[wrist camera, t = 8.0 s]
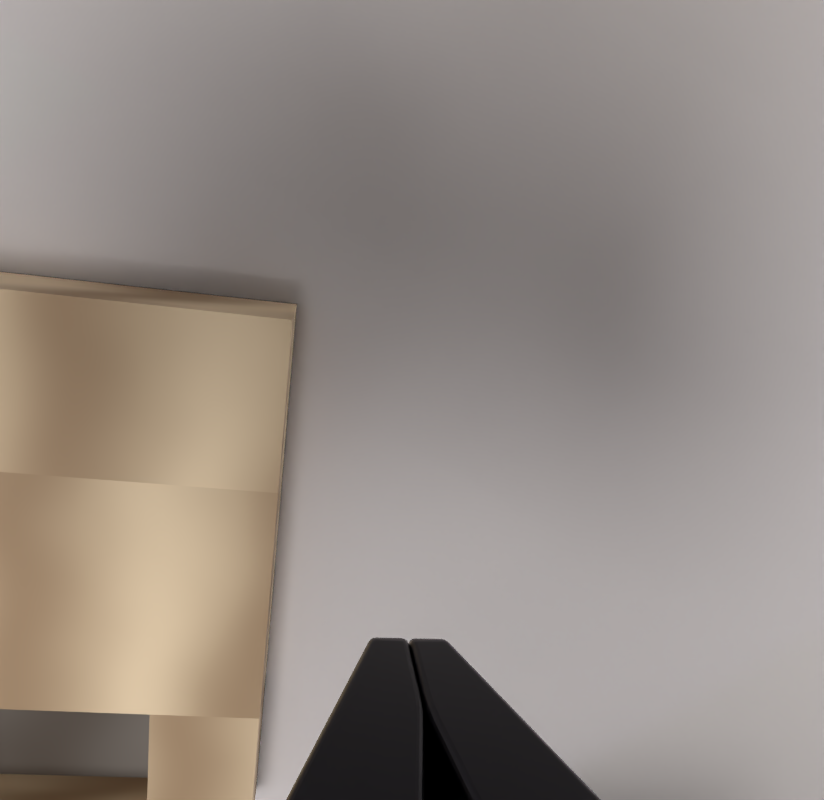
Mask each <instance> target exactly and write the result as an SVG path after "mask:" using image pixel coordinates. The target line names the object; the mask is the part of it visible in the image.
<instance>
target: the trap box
mask: <svg viewBox="0 0 824 800" xmlns="http://www.w3.org/2000/svg"><path fill="white" fill-rule="evenodd" d="M296 307H297V304H289V303H280V302H271V301H262V300H253V299H244V298H234V297H225V296H216V295H207V294H198V293H189V292H180V291H171V290H161V289H152V288H143V287H134V286H125V285H116V284H107V283H97V282H88V281H79V280H70V279H61V278H52V277H43V276H34V275H24V274H15V273H6V272H0V800H255V793H256V784H257V772H258V760H259V748H260V736H261V724H262V713H263V701H264V689H265V677H266V665H267V653H268V641H269V629H270V617H271V605H272V593H273V581H274V569H275V558H276V546H277V534H278V522H279V510H280V498H281V486H282V474H283V462H284V450H285V438H286V426H287V414H288V402H289V391H290V379H291V367H292V355H293V343H294V331H295V319H296Z"/></svg>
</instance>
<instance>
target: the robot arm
mask: <svg viewBox="0 0 824 800" xmlns="http://www.w3.org/2000/svg"><path fill="white" fill-rule="evenodd" d="M286 800H600V799H599V798H598V797H597V796H596V794H595V793H594V792H593V791H592V790H591V789H590V788H589V787H588V786H587V785H586V784H585V783H584V782H583V781H582V780H581V779H580V778H579V777H578V776H577V775H576V774H575V773H574V772H573V771H572V770H571V769H570V768H569V767H568V766H567V764H566V763H565V762H564V761H563V760H562V759H561V758H560V757H559V756H558V755H557V754H556V753H555V752H554V751H553V750H552V749H551V748H550V747H549V746H548V745H547V744H546V743H545V742H544V741H543V740H542V739H541V738H540V737H539V736H538V735H537V733H536V732H535V731H534V730H533V729H532V728H531V727H530V726H529V725H528V724H527V723H526V722H525V721H524V720H523V719H522V718H521V717H520V716H519V715H518V714H517V713H516V712H515V711H514V710H513V709H512V708H511V707H510V706H509V705H508V703H507V702H506V701H505V700H504V699H503V698H502V697H501V696H500V695H499V694H498V693H497V692H496V691H495V690H494V689H493V688H492V687H491V686H490V685H489V684H488V683H487V682H486V681H485V680H484V679H483V678H482V677H481V676H480V675H479V674H478V672H477V671H476V670H475V669H474V668H473V667H472V666H471V665H470V664H469V663H468V662H467V661H466V660H465V659H464V658H463V657H462V656H461V655H460V654H459V653H458V652H457V651H456V650H455V649H454V648H453V647H452V646H451V645H450V644H449V643H448V642H447V641H445V640H443V639H412V640H411V641H410V642H409V644H408V642H407V641H406V640H405V639H402V638H373V639H371V640H370V641H369V643H368V644H367V646H366V648H365V650H364V652H363V654H362V656H361V658H360V660H359V662H358V663H357V665H356V667H355V669H354V671H353V673H352V675H351V677H350V679H349V681H348V683H347V684H346V686H345V688H344V690H343V692H342V694H341V696H340V698H339V700H338V702H337V704H336V706H335V707H334V709H333V711H332V713H331V715H330V717H329V719H328V721H327V723H326V725H325V727H324V729H323V730H322V732H321V734H320V736H319V738H318V740H317V742H316V744H315V746H314V748H313V750H312V752H311V753H310V755H309V757H308V759H307V761H306V763H305V765H304V767H303V769H302V771H301V773H300V774H299V776H298V778H297V780H296V782H295V784H294V786H293V788H292V790H291V792H290V794H289V796H288V797H287V799H286Z"/></svg>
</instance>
